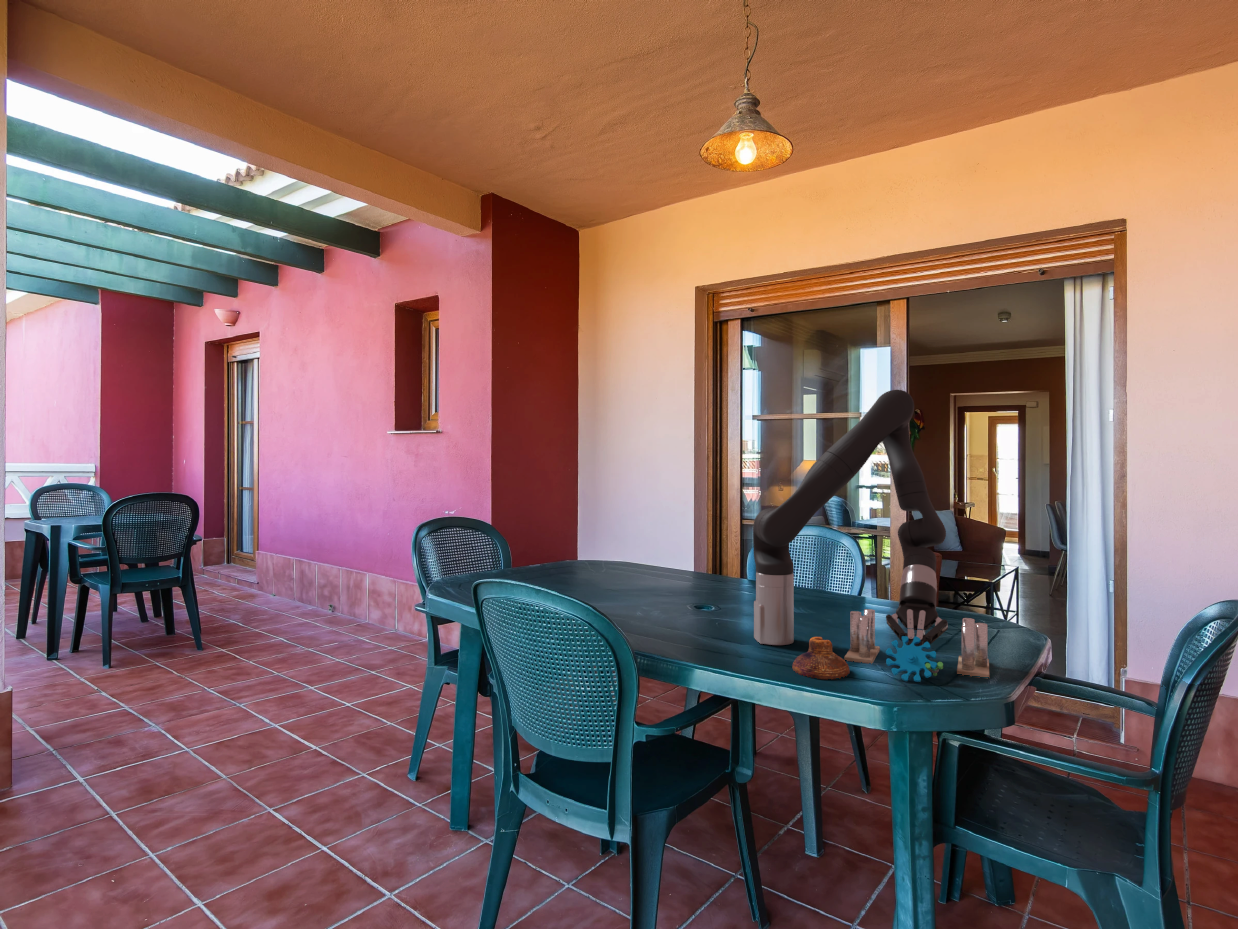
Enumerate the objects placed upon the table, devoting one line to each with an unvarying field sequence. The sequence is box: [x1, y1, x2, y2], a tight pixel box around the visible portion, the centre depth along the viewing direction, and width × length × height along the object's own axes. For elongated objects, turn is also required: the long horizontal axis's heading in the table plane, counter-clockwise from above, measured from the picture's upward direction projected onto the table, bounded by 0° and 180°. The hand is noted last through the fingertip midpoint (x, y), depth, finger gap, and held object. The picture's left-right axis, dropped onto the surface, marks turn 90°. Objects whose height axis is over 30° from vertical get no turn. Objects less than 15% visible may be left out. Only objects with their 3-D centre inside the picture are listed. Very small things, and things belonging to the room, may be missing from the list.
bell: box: [791, 636, 851, 680], centre depth 149 cm, size 12×12×7 cm
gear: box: [885, 635, 944, 683], centre depth 145 cm, size 11×6×10 cm
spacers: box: [849, 608, 988, 671], centre depth 156 cm, size 10×28×9 cm, turn 62°
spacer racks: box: [843, 645, 990, 678], centre depth 156 cm, size 13×29×1 cm, turn 62°
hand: (914, 658), depth 146 cm, fingers closed
